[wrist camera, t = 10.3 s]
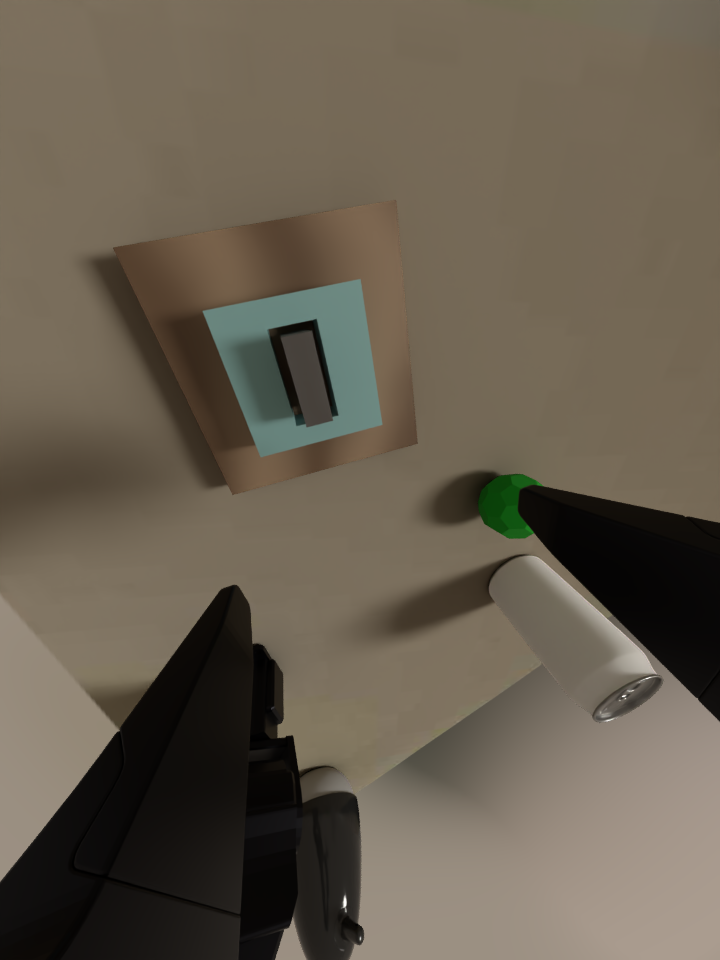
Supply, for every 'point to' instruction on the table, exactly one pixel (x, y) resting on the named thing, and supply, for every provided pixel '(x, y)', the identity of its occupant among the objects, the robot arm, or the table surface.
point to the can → (573, 639)
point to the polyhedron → (505, 505)
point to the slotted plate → (260, 376)
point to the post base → (280, 328)
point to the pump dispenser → (328, 867)
